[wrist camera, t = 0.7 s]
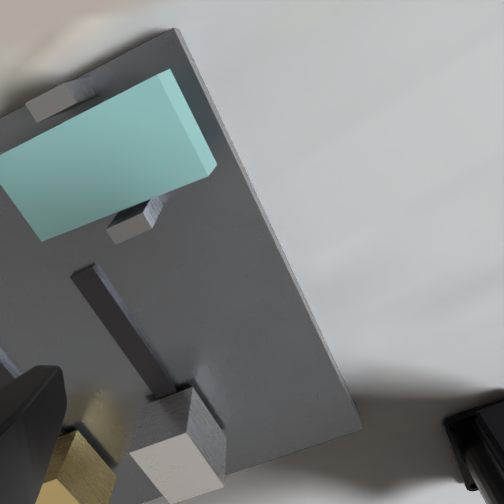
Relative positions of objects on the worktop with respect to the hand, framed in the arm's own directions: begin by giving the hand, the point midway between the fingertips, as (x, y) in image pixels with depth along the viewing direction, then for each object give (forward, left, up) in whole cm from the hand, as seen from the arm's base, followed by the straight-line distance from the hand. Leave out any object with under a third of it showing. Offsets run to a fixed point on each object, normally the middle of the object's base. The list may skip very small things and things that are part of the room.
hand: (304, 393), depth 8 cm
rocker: (+4, +5, -10) cm, 12 cm away
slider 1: (-10, +16, -12) cm, 22 cm away
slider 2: (-10, +9, -12) cm, 18 cm away
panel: (-4, +12, -14) cm, 19 cm away
